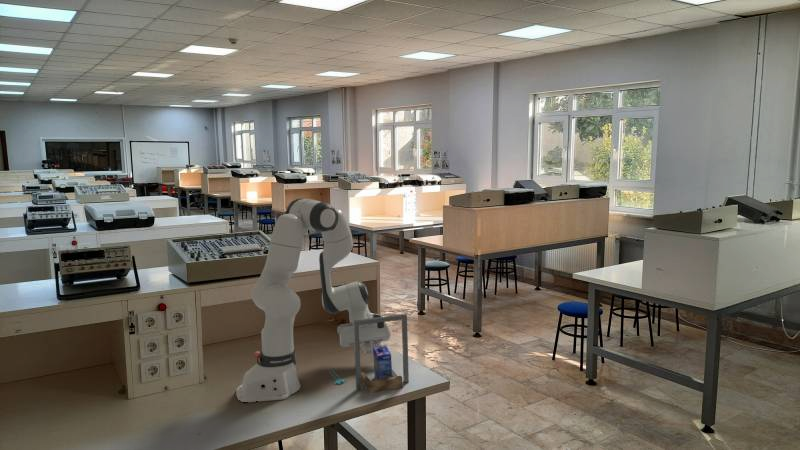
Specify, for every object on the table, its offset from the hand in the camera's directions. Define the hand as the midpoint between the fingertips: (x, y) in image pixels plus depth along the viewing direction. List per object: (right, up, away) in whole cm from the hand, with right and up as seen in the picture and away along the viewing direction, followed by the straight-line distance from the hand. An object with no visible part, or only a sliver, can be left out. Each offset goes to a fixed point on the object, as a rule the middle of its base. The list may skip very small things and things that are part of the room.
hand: (368, 353), depth 216 cm
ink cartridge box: (+6, -8, -12) cm, 15 cm away
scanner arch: (+6, -8, -16) cm, 19 cm away
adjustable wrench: (-12, -8, -7) cm, 16 cm away
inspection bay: (+5, -8, -13) cm, 16 cm away
